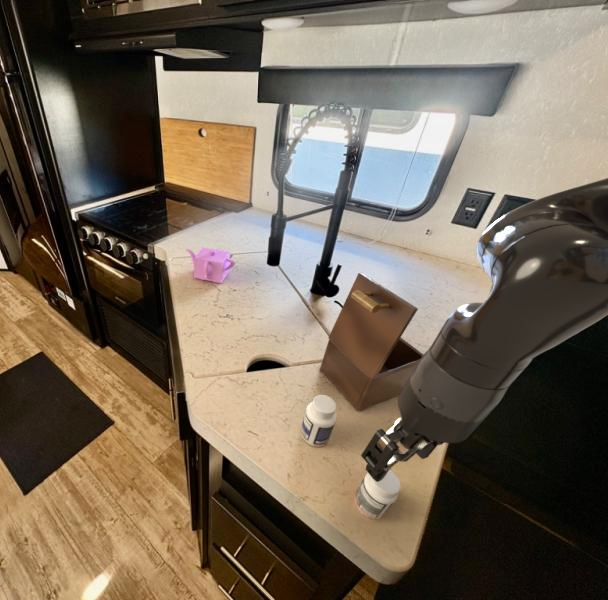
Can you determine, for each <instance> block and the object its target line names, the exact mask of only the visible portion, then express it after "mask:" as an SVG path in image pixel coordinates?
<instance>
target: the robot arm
mask: <svg viewBox="0 0 608 600" xmlns="http://www.w3.org/2000/svg"><path fill="white" fill-rule="evenodd" d="M475 252H476V253H475V255H476V258H477V261H478V263H479V266H480V267H481V269H482V270H483V271H484V273H485V274H486V276H487V277H488V279H489V280H490V283H491V284H492V285H493V286H492V289H491V291H490V293H489V295H488V297H487V298H486V300H485V301H484V302H470V303H465V304H462V305H460V306H459V307H457V308H456V309H455V310H453V312H452V313H450V315H449V316H448V317H447V319H446V320H445V321H444V323H443V325H442V327H441V328H440V330H439V332H438V333H437V335H436V337H435V339H434V340H433V341H432V343H431V345H430V347H429V348H428V349H427V350H426V351H425V352H424V353H423V354H424V355H423V356H422V357H421V359H420V360H419V362H418V363H417V365H416V367H415V369H414V370H413V372H412V374H411V375H410V377H409V379H408V380H407V382H406V384H405V386H404V387H403V389H402V391H401V392H400V394H399V395H398V396H397V406H398V410H399V414H400V417H398V418H397V419H396V420H395V421H394V425H392V426H391V427H390V428H389V429H388V430H387V431H385V430H384V429H383V428H379V429H377V430H376V431H375V433H374V434H373V435H372V437H371V439H370V440H369V442H368V443H367V445H366V447H365V448H364V449H363V451H362V453H361V454H360V457H361V458H362V459H363V460H364V461H365V463H366V466H365V471H366V472H367V473H369V474H370V476H371V477H372V478H373V480H375V481H376V482H379V481H381V480H382V479H383V478H384V477H385V475H386V474H387V472H388V471H389V470H391V469H392V467H394V466H395V465H396V464H398V463H399V462H402V463H405V462H408V461H409V460H410V459H411V458H413V457H414V456H415V455H417V456H418V457H419V458H420V459H421V460H424V459H427V458H429V456H430V455H431V454H432V453H433V452H434V450H435V449H436V448H437V447H438V446H440V445H441V446H442V445H443V444H457V443H462V442H463V441H465V440H467V439H468V438H469V437H470V436H471V435H472V434H473V432H474V431H475V430H476V429H477V428H478V427H479V426H480V425H481V424H482V422H484V421H485V419H486V418H487V417H488V416H489V415H490V413H491V412H493V411H494V409H495V408H496V407H497V406H498V405H499V403H500V402H501V401H502V399H503V398H504V397H505V394H506V392H507V391H508V389H509V387H510V386H511V385H512V384H513V383H514V382H515V381H516V380H517V378H518V377H519V376H520V375H521V374H522V373H523V372H524V371H525V370H526V369H527V367H528V366H529V365H530V364H531V362H532V361H533V360H534V358H536V357H537V356H539V355H541V354H543V353H545V352H547V351H549V350H551V349H553V348H555V347H556V346H558V345H561V344H562V343H564V342H565V341H566V340H568V339H570V338H572V337H573V336H576V335H577V334H579V333H580V332H582V331H584V330H585V329H587V328H589V327H591V326H592V325H594V324H596V323H597V322H599V321H601V320H602V319H603V318H605V317H606V316H608V177H606V178H603V179H599V180H596V181H592V182H589V183H586V184H582V185H578V186H576V187H572V188H569V189H565V190H562V191H559V192H554V193H552V194H549V195H546V196H543V197H540V198H537V199H535V200H532V201H530V202H527V203H525V204H523V205H521V206H519V207H517V208H515V209H513V210H510V211H509V212H507V213H505V214H504V215H502V216H501V217H500V218H498V219H496V220H495V221H494V222H493V223H491V224H490V225H489V226H488V227H487V228H486V229H485V230H484V231H483V233H481V235H480V237H479V239H478V241H477V244H476V248H475ZM398 443H399V444H401V446H402V447H403V448H405V449H406V451H405V452H402V450H400V446H399V445H398Z"/></svg>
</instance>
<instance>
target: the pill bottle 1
mask: <svg viewBox="0 0 608 600" xmlns="http://www.w3.org/2000/svg"><path fill="white" fill-rule="evenodd" d="M336 410H337V404H336V401H335V400H334V399H333V398H332V397H330V396H329V395H325V394H318V395H316V396H314V398H313V400H312V401H311V402H309V403H308V404H307V406H306V409H305V413H304V416H303V418H302V422H301V425H300V435H301V437H302V439H303V440H304V441H305V443H306V444H308V445H310V446H313V447H318V448H319V447H324V446H326V444H327V443H328V442H329V440H330V437H331V435H332V432H333V431H334V427H335V425H336V422H337V412H336Z"/></svg>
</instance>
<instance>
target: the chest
mask: <svg viewBox="0 0 608 600" xmlns="http://www.w3.org/2000/svg"><path fill="white" fill-rule="evenodd" d="M424 354H425V353H423V352H421V351H420V350H418V349H417V348H416V347H414V346H413V345H412V344H411V343H409V342H408V341H406V340H405V339H404V338H403V337H402V336H401V337H400V339H399V341H398V342H397V344H396V345H395V347H394V349H393V350H392V352H391V353H390V355H389V357H388V358H387V360H386V361H385V363H384V365H383V366H382V368H381V369H380V371H379V373H378V374H377V376H376V378H375V379H371V378H370V377H368V376H367V375H366V374H365V373H364V372H363V371H362V370H361V369H360V368H359V367H358V366H357V365H356V364H355V363H354V362H353V361H352V360H351V359H350V358H349V357H348V356H346V355H345V354H344V353H343V352H342V351H341V350H340V349H339V348H338V347H337V346H336V345H335V344H334V343H333V342H332V341H331V340H330V339H329V338H328V341H327V345H326V349H325V351H324V353H323V358H322V360H321V364H320V367H319V371H321V373H322V374H323V375H324V376H325V377H326V379H328V381H330V383H331V384H332V385H333V386H334V387H335V388H336V389H337V390H338V392H339V393H340V394H341V395H342V396H343V397H344V398H345V399H346V400H347V401H348V403H349V404H350V405H351V406H352V407H353V408H354V410H356V411H357V413H359V412H361V411H364V410H365V409H368V408H371V407H374V406H376V405H378V404H380V403H383V402H385V401H387V400H390V399H393V398H395V397H398V396H399V394H400V392H401V391H402V389H403V387H404V386H405V384H406V382H407V380H408V379H409V377H410V375H411V374H412V372H413V370H414V369H415V367H416V365H417V363H418V362H419V360H420V359H421V357H422V356H423V355H424Z"/></svg>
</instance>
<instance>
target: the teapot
mask: <svg viewBox="0 0 608 600" xmlns="http://www.w3.org/2000/svg"><path fill="white" fill-rule="evenodd" d="M185 251H186V252H188V253H189V255H190V257H191V262H192V264H193V278H194V279H198V280H201V281H209V282H213V283H215V284H216V283H218V284H222V283H223V282H224V280H225V279H226V277H227V275H228V274H229V272H230V269H233V268H234V267H235V265H236V261H235V260H234V259H231V252H230V251H227V250H222V249H220V248H216V249H215V248H210V247H204V246H203V247H202V248H201V249H200V250H199V251H198V252H197V253H196V254H195V252H194V251H193V250H192V249H188V248H186V249H185Z"/></svg>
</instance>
